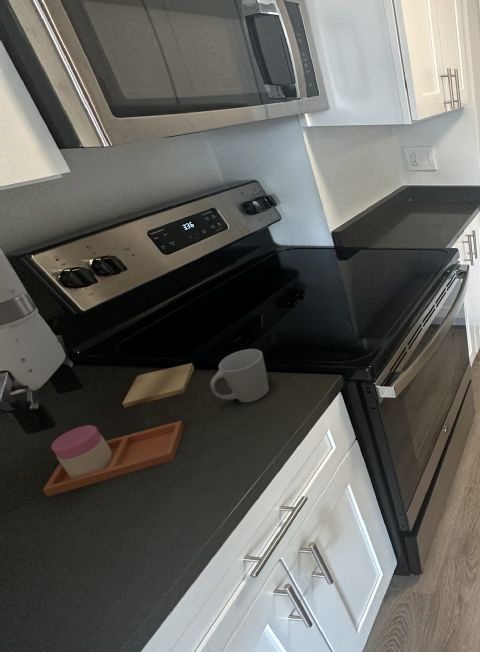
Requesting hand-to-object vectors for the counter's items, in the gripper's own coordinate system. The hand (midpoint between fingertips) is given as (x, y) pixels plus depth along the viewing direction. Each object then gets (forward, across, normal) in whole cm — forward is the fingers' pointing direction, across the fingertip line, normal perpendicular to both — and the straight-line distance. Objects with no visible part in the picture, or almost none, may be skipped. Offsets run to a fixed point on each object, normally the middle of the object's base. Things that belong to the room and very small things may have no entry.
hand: (58, 408), depth 66 cm
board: (+13, -21, +4) cm, 25 cm away
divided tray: (+13, 0, +4) cm, 13 cm away
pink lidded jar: (+12, 0, 0) cm, 12 cm away
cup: (+13, -9, +22) cm, 27 cm away
